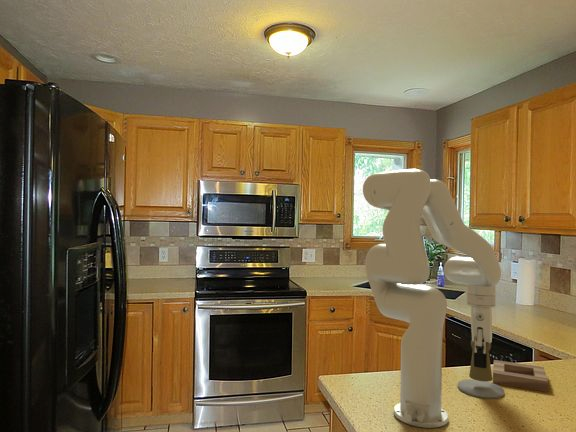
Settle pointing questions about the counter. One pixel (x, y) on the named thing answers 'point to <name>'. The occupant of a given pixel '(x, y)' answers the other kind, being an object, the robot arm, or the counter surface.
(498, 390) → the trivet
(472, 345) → the cork
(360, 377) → the counter surface
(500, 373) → the frame
